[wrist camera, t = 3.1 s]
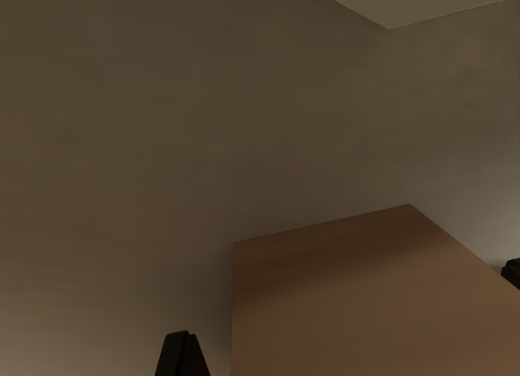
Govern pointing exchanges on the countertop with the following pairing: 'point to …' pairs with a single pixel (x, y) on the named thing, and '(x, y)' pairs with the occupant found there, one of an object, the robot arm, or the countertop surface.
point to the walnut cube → (370, 302)
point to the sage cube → (409, 10)
